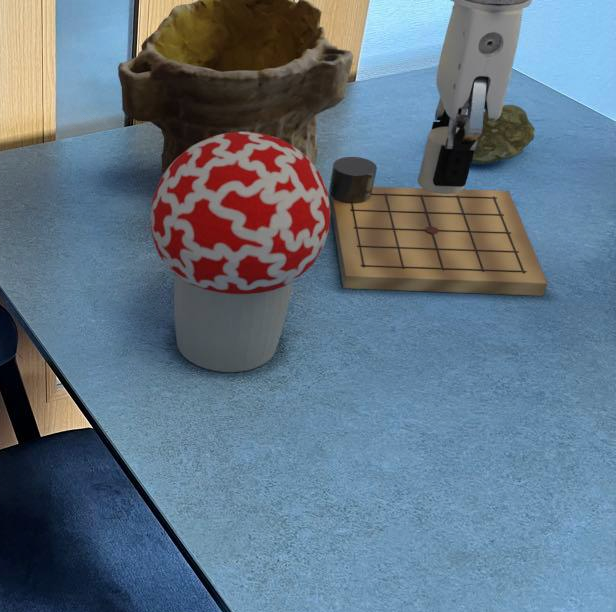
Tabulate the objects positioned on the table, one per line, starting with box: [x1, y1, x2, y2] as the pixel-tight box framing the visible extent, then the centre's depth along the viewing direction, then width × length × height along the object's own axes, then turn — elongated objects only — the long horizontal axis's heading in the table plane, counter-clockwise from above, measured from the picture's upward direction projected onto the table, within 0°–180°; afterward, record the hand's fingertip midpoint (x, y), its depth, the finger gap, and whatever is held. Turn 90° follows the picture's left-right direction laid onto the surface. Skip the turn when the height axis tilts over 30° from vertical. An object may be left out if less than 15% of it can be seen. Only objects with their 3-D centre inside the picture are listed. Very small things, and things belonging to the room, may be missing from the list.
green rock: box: [465, 104, 536, 165], centre depth 127 cm, size 10×7×10 cm
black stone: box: [328, 156, 378, 203], centre depth 116 cm, size 5×5×3 cm
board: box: [328, 186, 548, 297], centre depth 112 cm, size 20×20×2 cm
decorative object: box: [149, 132, 331, 373], centre depth 92 cm, size 16×16×20 cm
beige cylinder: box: [417, 127, 466, 194], centre depth 106 cm, size 5×5×5 cm
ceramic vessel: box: [117, 0, 354, 175], centre depth 113 cm, size 23×24×25 cm
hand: (444, 170), depth 107 cm, fingers closed on beige cylinder, 4 cm apart
